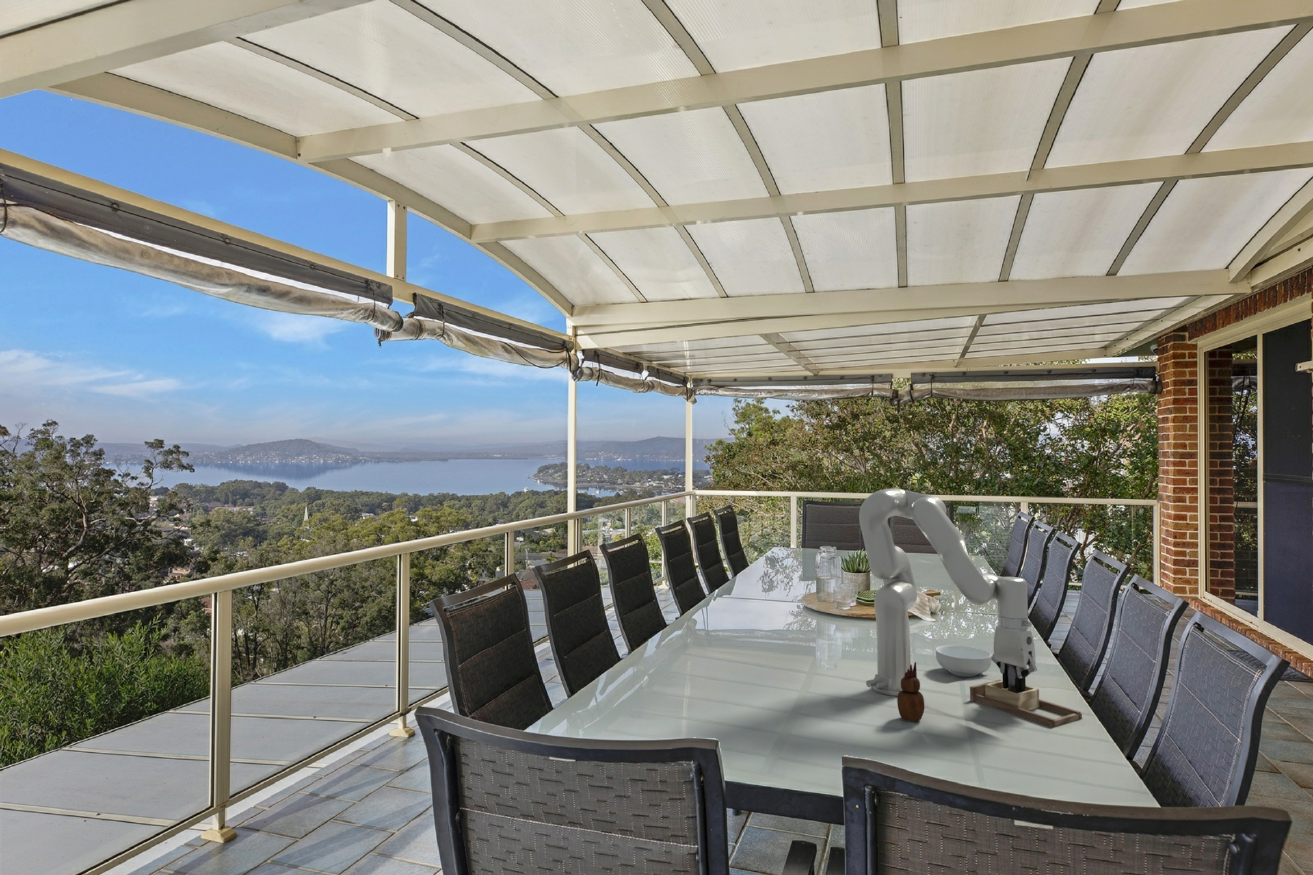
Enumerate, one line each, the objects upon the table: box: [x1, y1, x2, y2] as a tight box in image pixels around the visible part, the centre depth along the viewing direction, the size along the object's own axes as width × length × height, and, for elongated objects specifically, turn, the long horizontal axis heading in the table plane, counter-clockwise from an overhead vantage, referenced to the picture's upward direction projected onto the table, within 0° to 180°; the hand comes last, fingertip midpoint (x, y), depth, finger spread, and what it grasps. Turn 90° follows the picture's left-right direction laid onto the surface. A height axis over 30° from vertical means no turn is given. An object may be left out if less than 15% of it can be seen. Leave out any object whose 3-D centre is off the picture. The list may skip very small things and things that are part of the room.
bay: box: [969, 679, 1083, 728], centre depth 200 cm, size 13×24×5 cm, turn 29°
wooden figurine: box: [896, 661, 925, 722], centre depth 196 cm, size 7×6×15 cm
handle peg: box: [1007, 664, 1018, 693], centre depth 202 cm, size 3×3×10 cm
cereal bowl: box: [935, 645, 993, 678], centre depth 237 cm, size 17×17×7 cm
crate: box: [985, 679, 1040, 711], centre depth 203 cm, size 9×10×5 cm
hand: (1014, 689), depth 202 cm, fingers closed on handle peg, 3 cm apart
